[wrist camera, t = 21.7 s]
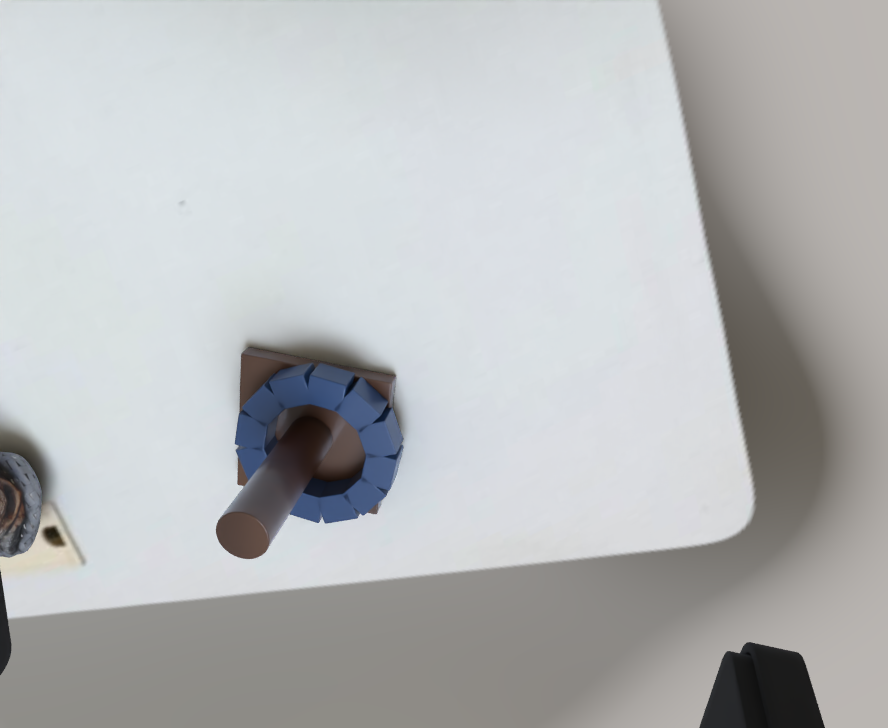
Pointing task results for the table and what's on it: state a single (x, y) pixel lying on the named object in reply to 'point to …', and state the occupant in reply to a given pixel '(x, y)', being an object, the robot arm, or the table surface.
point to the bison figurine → (18, 504)
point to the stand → (291, 456)
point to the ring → (351, 404)
